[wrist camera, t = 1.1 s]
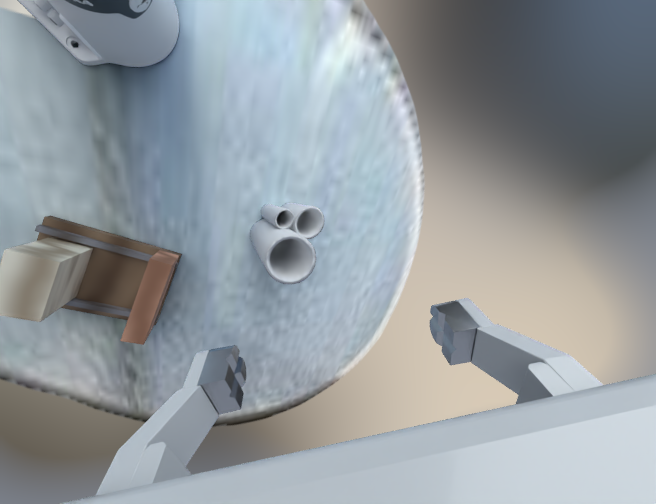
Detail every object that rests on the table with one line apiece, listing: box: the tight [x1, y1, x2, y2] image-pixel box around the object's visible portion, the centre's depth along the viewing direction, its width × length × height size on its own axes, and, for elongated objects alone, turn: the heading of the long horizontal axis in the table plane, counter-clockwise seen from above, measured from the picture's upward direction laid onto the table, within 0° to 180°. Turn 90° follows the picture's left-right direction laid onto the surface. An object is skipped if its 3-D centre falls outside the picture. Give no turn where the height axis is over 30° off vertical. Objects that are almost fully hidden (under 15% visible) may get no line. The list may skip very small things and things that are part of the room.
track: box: [35, 216, 182, 345], centre depth 40 cm, size 18×13×8 cm
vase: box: [250, 202, 324, 284], centre depth 42 cm, size 11×7×20 cm, turn 143°
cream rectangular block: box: [0, 237, 93, 322], centre depth 36 cm, size 5×8×9 cm, turn 157°
